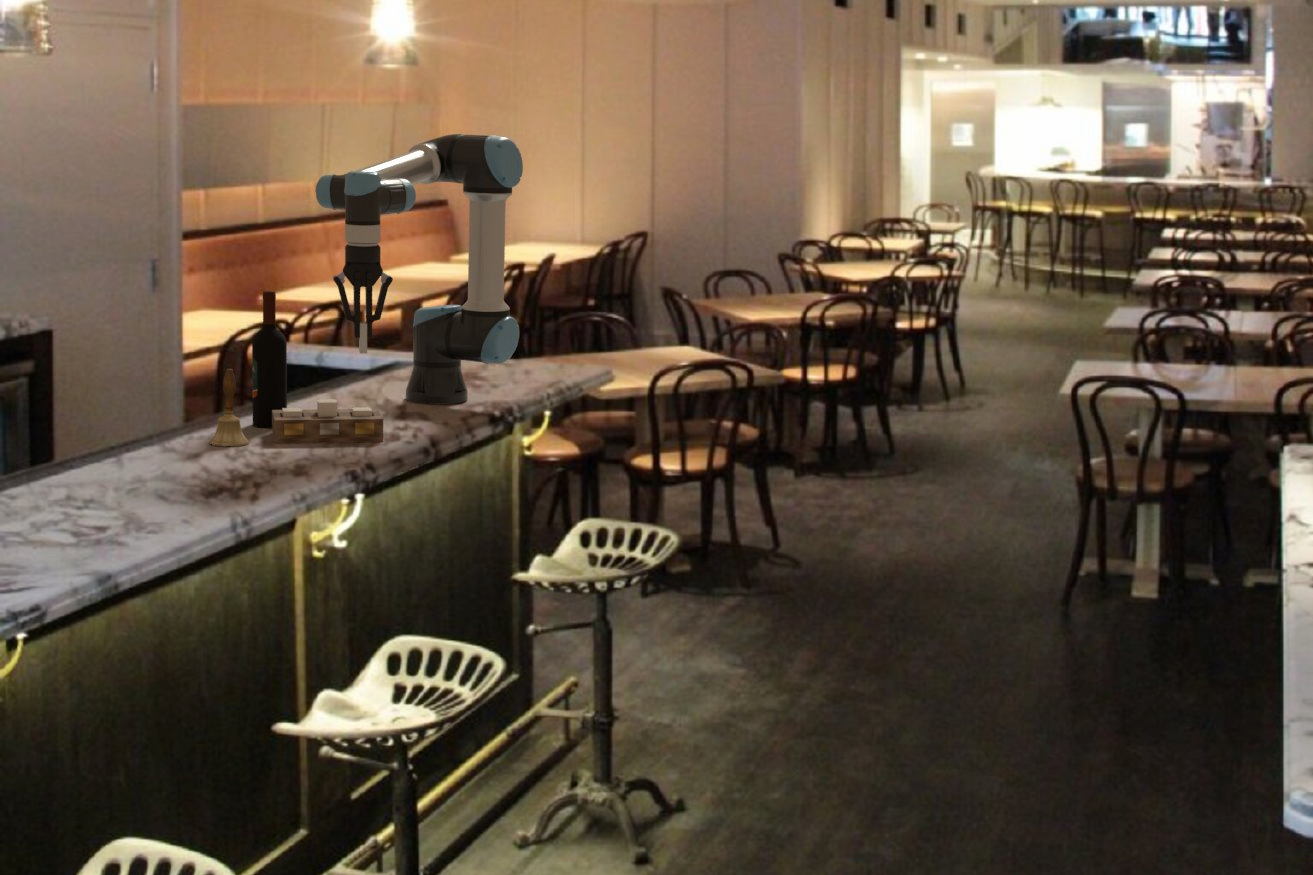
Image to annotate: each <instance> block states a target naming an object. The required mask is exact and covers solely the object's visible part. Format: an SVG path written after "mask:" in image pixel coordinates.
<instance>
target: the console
mask: <svg viewBox="0 0 1313 875" xmlns="http://www.w3.org/2000/svg"><path fill="white" fill-rule="evenodd" d="M371 409H372V416H352V408H348V409H347V408H346V409H345V408H342V409H341V408H339V409H338V408H337V416H335V417H317V409H302V417H282V410H272V428H271V433H272V437H273V441H274V444H304V443H305V444H307V443H309V444H310V443H312V444H313V443H315V444H316V443H320V444H321V443H374V442H375V443H382V442H384V418H383V415H382V414H381V412H380V410H379V409H378V408H371Z"/></svg>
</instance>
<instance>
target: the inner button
mask: <svg viewBox="0 0 1313 875" xmlns="http://www.w3.org/2000/svg"><path fill="white" fill-rule="evenodd" d="M351 409H352V416H372V409H373V408H372V407H367V406H366V407H363V406H362V407H358V406H357V407H351Z"/></svg>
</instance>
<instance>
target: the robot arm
mask: <svg viewBox="0 0 1313 875" xmlns="http://www.w3.org/2000/svg"><path fill="white" fill-rule="evenodd" d="M523 167H524V165H523V158H522V153H521V152H520V149H519V147H518V146H517V144H516V143H515V142H514V141H513V140H512V139H511V138H508V137H505V136H500V135H499V136H498V135H494V134H492V135H488V134H487V135H484V134H481V135H480V134H462V133H454V134H448V135H442V136H439V137H436V138H432V139H429V140H426V141H423V142H420V143H418V144H415V145H413V146H412V147H410V149H409V150H408V151H407V152H405V153H403V154H400V155H397V156H394V157H391V158H388V159H385V160H381V161H379V162H376V163H373V164H371V165H368V166H365V167H363V168H359V169H357V170H351V171H348V172H346V173H344V174H335V173H332V174H324V175H322V176H321V177H320V178H319V179H318V180H317V182H316V184H315V198H316V201H317V203H318V204H319V206H321V207H322V208H324V209H330V210H331V209H332V210H333V211H337V210H341V211H345V213H344V214H345V215H344V216H345V218H344V219H345V220H344V223H345V224H344V242H345V243H347V244H345V246H344V266H343V268H342V272H340V273H338V274H336V275H333V277H332V280H333V282H334V283H335V284H336V286H337V288H338V292H339V293H338V294H339V296H340V301H341V305H342V309H343V312H344V317H345V319H346V320H347V321H350V322H353V336H354V338H356V339H357V338H358V352H359V354H368V339H369V338H372V337H373V324H374V322H377V321H380V320H381V318H382V315H383V309H384V305H385V302H386V297H387V293H388V288H389V287H390V285H391V284H392V282H393V281H394V279H393V277H392V276H391V275H388V274H387V273H385V272H384V270H383V268H382V265H381V246H380V245H379V244H380V243H381V215H387V214H388V215H389V214H401V213H404V212H408V211H409V210H411V209H412V208H413V207H414V205H415V202H416V197H417V194H416V190H415V187H414V186H415V185H417V184H422V185H430V184H433V183H438V182H439V183H453V184H462V187H463V188H462V193H463V194H464V196H465V197H467V198H468V200H469V204H468V205H469V206H468V208H469V210H468V212H469V213H468V261H467V262H468V267H467V269H468V274H467V277H468V278H467V283H468V284H467V300H466V302H465V303H464V304H463V305H461V304H446V305H434V306H426V307H420V308H418V309H416V310H415V312H414V315H413V325H412V329H413V338H412V339H413V344H412V345H413V346H412V348H413V349H412V350H413V354H412V355H413V356H412V357H413V358H412V359H413V362H412V365H413V366H412V369H411V374H410V377H409V380H408V382H407V386H406V389H405V400H407V401H408V402H412V403H417V404H427V405H428V404H429V405H451V404H460V403H463V402H467V401H468V398H469V397H468V393H469V392H468V388H467V385H466V382H465V378H464V375H463V372H462V361H467V362H475V363H483V364H484V365H489V364H490V365H500V364H504V363H505V362H507V361H509V360H510V358H511V357H512V356H513V354H514V353H515V351H516V350H517V347H518V343H519V339H520V326H519V324H518V320H516V319H515V317H513V316H511V315H510V313H511V309H510V306H509V305H508V304H507V303H506V302H505V300H504V299H505V297H504V295H505V257H506V256H505V254H506V253H505V252H506V251H505V250H506V249H505V247H506V244H505V243H506V201H507V200H508V199H509V198H510V197H511V196H512V195H513V188H514V187H516V186H518V184H519V183H520V181H521V178H522V177H523V173H524V172H523V170H524V169H523ZM345 278H346V279H347V280H348V281H349V283H350V284H351V286H352V288H353V314H352V312H351V309H350V305H349V304H350V303H349V301H348V297H347V293H346V292H347V291H346V289H345V286H344V284H345V283H346V281H345ZM379 279H380V283H381V285H380V286H381V287H380V288H379V289H380V290H379V294H378V297H377V302H376V305H375V310H374V314H373V287H374V286H375V284H376V283H377V282H378V280H379ZM361 288H364V289H365V321H361Z"/></svg>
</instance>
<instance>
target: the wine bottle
mask: <svg viewBox="0 0 1313 875" xmlns="http://www.w3.org/2000/svg"><path fill="white" fill-rule="evenodd" d="M276 299H277V296H276V291H275V290H274V291H272V290H265V291H262V326H261V328H260V330H258V331H257V332H256V333H255V334H254V335H253V337H252V339H251V340H252V341H251V348H252V349H251V350H252V351H251V352H252V354H251V357H252V359H251V360H252V361H251V362H252V363H251V366H252V372H251V373H252V374H251V375H252V376H251V377H252V378H251V381H252V384H251V385H252V386H251V387H252V426H253V427H255V428H259V429H260V428H261V429H272V410H282V408H288V397H287V394H288V392H287V391H288V386H287V384H288V379H287V378H288V373H287V372H288V371H287V368H288V367H287V364H288V362H287V361H288V360H287V359H288V358H287V357H288V355H287V354H288V352H287V351H288V348H287V347H288V343H287V338H286V336H285V334H283V333H282V332H281V331H280V330H279V329H278V328H277V324H276V322H277V321H276V320H277V319H276V317H277V316H276V310H277V309H276V302H277V301H276Z"/></svg>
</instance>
